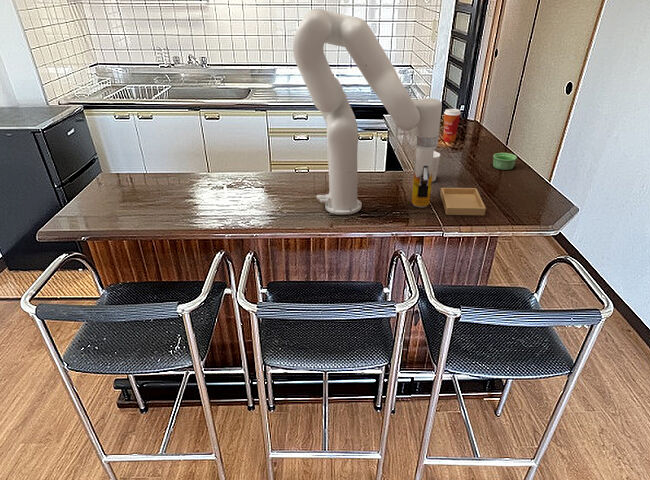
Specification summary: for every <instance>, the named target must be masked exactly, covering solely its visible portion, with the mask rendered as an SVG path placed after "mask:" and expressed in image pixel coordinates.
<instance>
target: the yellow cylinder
mask: <svg viewBox="0 0 650 480" xmlns="http://www.w3.org/2000/svg"><path fill="white" fill-rule="evenodd" d="M414 164H415V163H414ZM415 166H416V164H415ZM415 166H414V165H413V178H412V179H413V181H412V192H411V193H412V194H411V204H412V205H413V206H414V207H415V208H420V209H421V208H427V207H428V206H429V205H430V202H431V192H432V184H433V182H432V174H433V164H432V172H431V177H430V178H428V195H427V197H418V185H419V181H420V177H418V178H416V176H415ZM421 177H423V175H421ZM422 180H423V179H422ZM422 180H421V181H422Z"/></svg>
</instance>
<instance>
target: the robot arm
mask: <svg viewBox="0 0 650 480" xmlns="http://www.w3.org/2000/svg"><path fill="white" fill-rule="evenodd" d="M325 44H328V45H333V46H337V47H342V48H345V49H346V51H347V53H348V54H349V56H350V57H351V59H352V60H353V62H354V63H355V65H356V67H357V68H358V70H359V71H360V73H361V74H362V76H363V77H364V79H365V81H366V82H367V84H368V85H369V87H370V88H371V90H372V91H373V92H374V93H375V95H376V96H377V98H378V99H379V100H380V102H381V103H382V105H383V107H384V108H385V109H386V111H387V113H388V115H389V116H390V117H391V119H392V121H393V122H394V124H395V125H396V127H397V128H398V129H399V130H402V131H406V132H407V131H411V130H414V138H413V139H414V140H413V146H414V147H415V155H414V156H415V157H414V165H413V167H414V166H415V164H416V166H415V176H416V178H418V177H420V181H419V185H418V197H427V195H428V178H430V177H431V172H432V164H433V153H434V151H435V148H437V147H438V145H439V138H440V136H439V135H440V128H441V119H442V118H441V116H442V111H443V110H442V108H443V104H442V102H441V100H439V99H437V98H422V99H419V98H418V99H417V98H412V97H411V96H410V94H409V92H408V91H407V89H406V87H405V86H404V84H403V82H402V81H401V79H400V77H399V75H398V72H397V70H396V69H395V67H394V65H393V63H392V62H391V60H390V58H389V57H388V55H387V54H386V52H385V50H384V48H383V47H382V45H381V43H380V42H379V40H378V39H377V37H376V35H375V33H374V32H373V30H372V29H371V27H370V25H369V24H368V23H367V22H366V20H364V19H362V18H360V17H357V16H351V15H347V14H342V13H339V12H334V11H330V10H325V9H321V8H313V9H310V10H308V11H306V13H305V14H304V16H303V17H302V20H301V21H300V23H299V25H298V27H297V29H296V31H295V32H294V35H293V41H292V53H293V58H294V61H295V64H296V66H297V68H298V70H299V73H300V75H301V77H302V80H303V82H304V84H305V87H306V89H307V91H308V93H309V95H310V97H311V100H312V103H313V105H314V106H315V108H316V109H317V110H318V111H320V114H321V116H322V117H323V120H324V121H325V124H326V137H327V138H326V145H327V165H328V193H326V194H317V195H316V201H319V204H324V208H325V210H326V211H327V212H329V213H331V214H334V215H339V216H345V215H346V216H347V215H352V214H355V213H358V212H360V210H361V209H362V207H363V205H362V202H361V200H359V199H358V149H359V148H358V146H359V127H358V122H357V119H356V115H355V113H354V111H353V109H352V106H351V104H350V102H349V100H348V97H347V96H346V95H347V94H346V93H345V90H344V88H343V86H342V85H341V82H340V81H339V79H338V78H337V77H336V76H335V74H333V70H332V69H331V66H330V64H329V61H328V59H327V57H326V54H325V49H324V47H325ZM421 175H423V177H421ZM422 179H423V180H422ZM421 180H422V181H421Z"/></svg>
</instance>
